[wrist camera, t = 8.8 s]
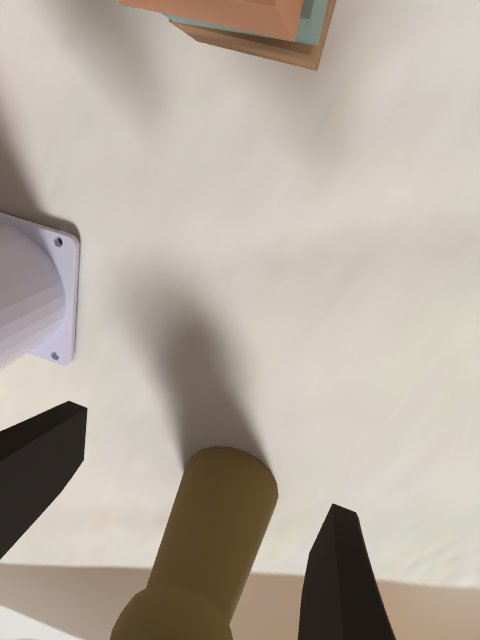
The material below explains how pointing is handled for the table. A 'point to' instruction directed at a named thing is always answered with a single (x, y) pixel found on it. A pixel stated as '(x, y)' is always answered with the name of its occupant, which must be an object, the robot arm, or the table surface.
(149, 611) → the olive upright rounded piece
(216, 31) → the walnut slab
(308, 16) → the teal slab
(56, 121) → the table surface
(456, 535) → the table surface
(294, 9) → the orange block
